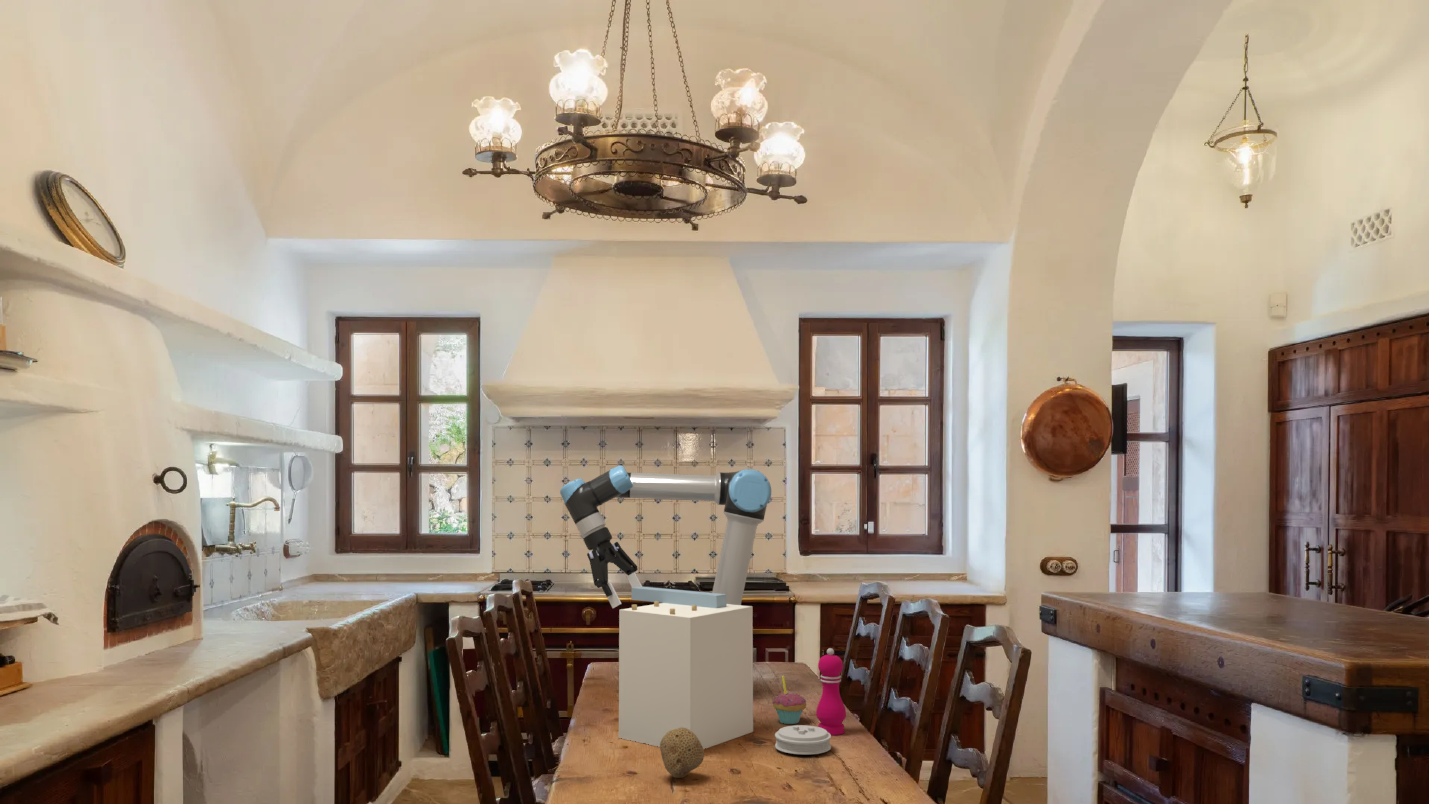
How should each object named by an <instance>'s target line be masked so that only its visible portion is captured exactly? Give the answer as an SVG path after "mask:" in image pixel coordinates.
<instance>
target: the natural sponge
mask: <svg viewBox="0 0 1429 804" xmlns="http://www.w3.org/2000/svg"><path fill="white" fill-rule="evenodd" d="M659 748H660V750H659V751H660V755H661V759H662V763H663V765H664V768H665V770H666V771H667V772H668V773H669V774H670V775H671V776H672V777H673V778H675V779H682V778H685V777H686V776H687V775H688V774H689V773H690V772H691V771H694V770H695V769H697V768H698V767H700V766H701V765H702V763H703V762H704V758H705V749H703V747H702V745H701V743H700V741H699V739H698V738H697V736H696V735H695V734H694V733H693V732H692V731H690V730H689V729H686V728H682V727H680V728H678V729H673V730H671V731H669V732H667V733H666V734H665V735H664V737H663V738H662V740H661V743H660V747H659Z"/></svg>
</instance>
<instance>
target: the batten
mask: <svg viewBox="0 0 1429 804" xmlns="http://www.w3.org/2000/svg"><path fill="white" fill-rule="evenodd" d="M631 600H632V601H641V602H649V603H650V602H651V603H654V601H659V603H669V604H679V605H689V606H692V605H697V606H698V607H708V608H721V607H726V594H718V593H712V592H707V591H705V592H704V591H695V590H683V589H673V588H664V587H663V588H662V587H653V586H642V587H635V588H632V587H631Z"/></svg>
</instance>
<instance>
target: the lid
mask: <svg viewBox="0 0 1429 804" xmlns="http://www.w3.org/2000/svg"><path fill="white" fill-rule="evenodd" d="M774 737H775V740H776V741H775V744H774V747H775V749H776V750H778V751H780V752H781V753H788V754H791V755H792V754H793V755H819V754H823V753H826V752H828V751H830V750H831V749H832V745H831V743H830V742H831V738H832V735H830V733H828V732H827V731H826V730H825V729H823V728H820V727H818V726H814V725H805V724H804V725H802V724H794V725H788V726H784V727H781V728H779V730H778V731H776V732H775V733H774Z"/></svg>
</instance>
